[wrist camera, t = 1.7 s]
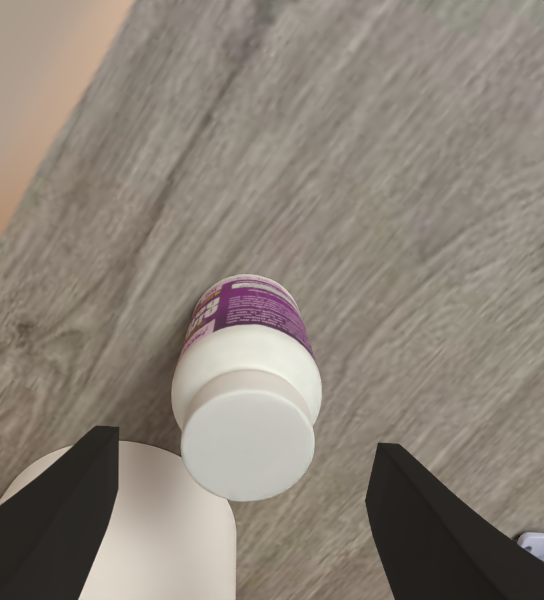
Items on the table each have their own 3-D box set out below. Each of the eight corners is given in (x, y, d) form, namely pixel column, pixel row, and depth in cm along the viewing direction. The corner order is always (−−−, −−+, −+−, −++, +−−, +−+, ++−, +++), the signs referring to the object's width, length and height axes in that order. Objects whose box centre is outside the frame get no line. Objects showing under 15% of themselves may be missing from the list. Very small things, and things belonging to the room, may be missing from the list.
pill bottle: (196, 264, 21) (162, 355, 12) (308, 278, 22) (355, 376, 13) (186, 366, 23) (149, 515, 14) (290, 378, 23) (320, 527, 14)
